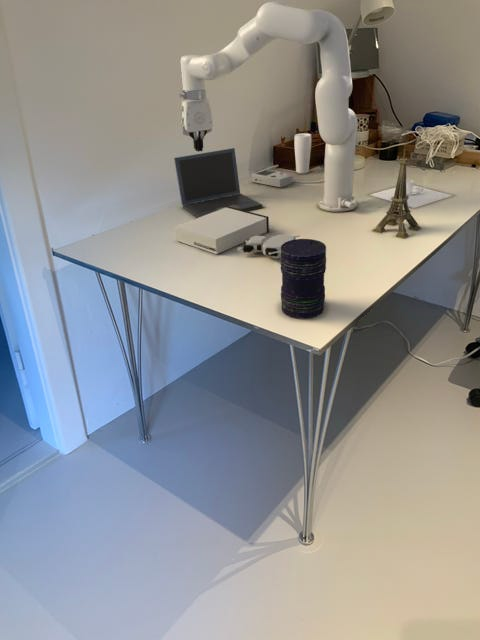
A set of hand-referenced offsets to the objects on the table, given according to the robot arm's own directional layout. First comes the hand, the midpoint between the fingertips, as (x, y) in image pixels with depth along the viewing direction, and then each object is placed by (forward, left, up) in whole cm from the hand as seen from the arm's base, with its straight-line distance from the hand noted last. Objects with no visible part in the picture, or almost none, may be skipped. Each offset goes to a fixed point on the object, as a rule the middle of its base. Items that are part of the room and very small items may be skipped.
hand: (198, 150), depth 192 cm
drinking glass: (+6, -48, -17) cm, 51 cm away
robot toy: (-60, +7, -17) cm, 63 cm away
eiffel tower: (-66, -34, -17) cm, 76 cm away
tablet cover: (-7, 0, -8) cm, 10 cm away
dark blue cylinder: (-92, +17, -17) cm, 95 cm away
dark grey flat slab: (-16, 0, -17) cm, 23 cm away
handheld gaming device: (0, -30, -17) cm, 35 cm away
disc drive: (-41, +12, -17) cm, 46 cm away
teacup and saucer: (-43, -61, -17) cm, 77 cm away
